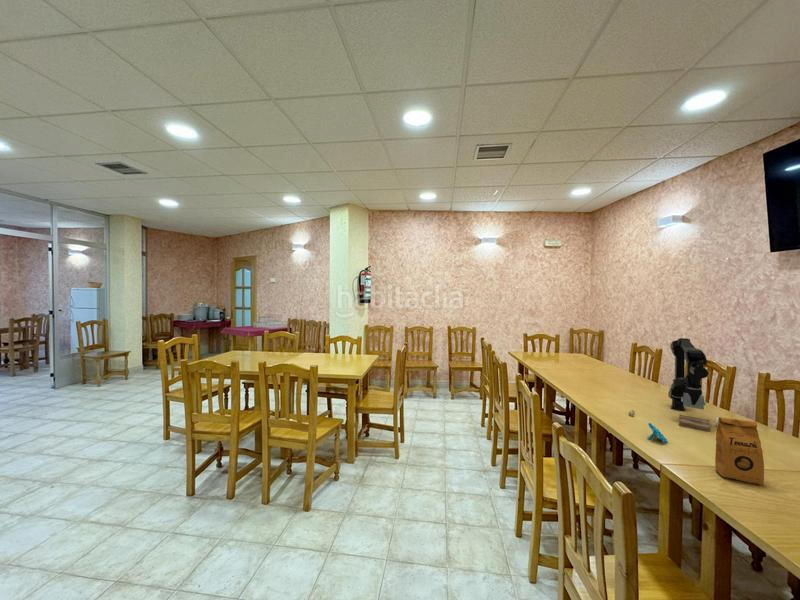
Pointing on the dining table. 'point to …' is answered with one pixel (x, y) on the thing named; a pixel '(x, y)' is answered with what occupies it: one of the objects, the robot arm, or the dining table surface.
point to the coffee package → (739, 451)
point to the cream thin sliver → (717, 421)
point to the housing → (688, 403)
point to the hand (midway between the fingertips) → (693, 403)
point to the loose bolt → (631, 413)
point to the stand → (694, 423)
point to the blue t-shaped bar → (656, 433)
